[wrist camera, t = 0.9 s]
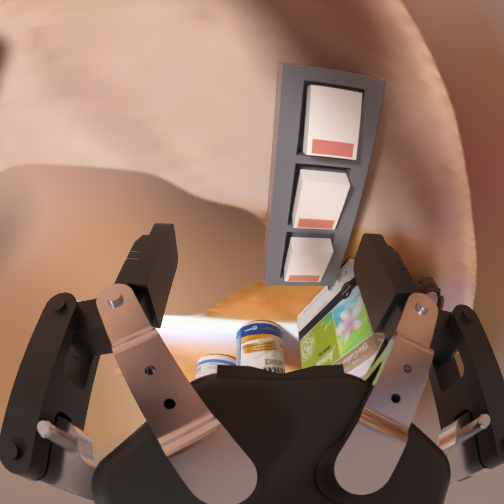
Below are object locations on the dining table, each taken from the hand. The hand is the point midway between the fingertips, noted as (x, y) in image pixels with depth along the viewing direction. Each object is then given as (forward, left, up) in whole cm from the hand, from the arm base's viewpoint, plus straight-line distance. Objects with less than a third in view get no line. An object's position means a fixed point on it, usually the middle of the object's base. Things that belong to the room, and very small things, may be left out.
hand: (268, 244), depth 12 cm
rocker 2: (+6, +6, -15) cm, 17 cm away
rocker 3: (+14, +6, -15) cm, 21 cm away
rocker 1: (-2, +6, -15) cm, 16 cm away
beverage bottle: (+36, +2, -20) cm, 41 cm away
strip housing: (+6, +6, -19) cm, 21 cm away
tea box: (+26, +15, -20) cm, 36 cm away
